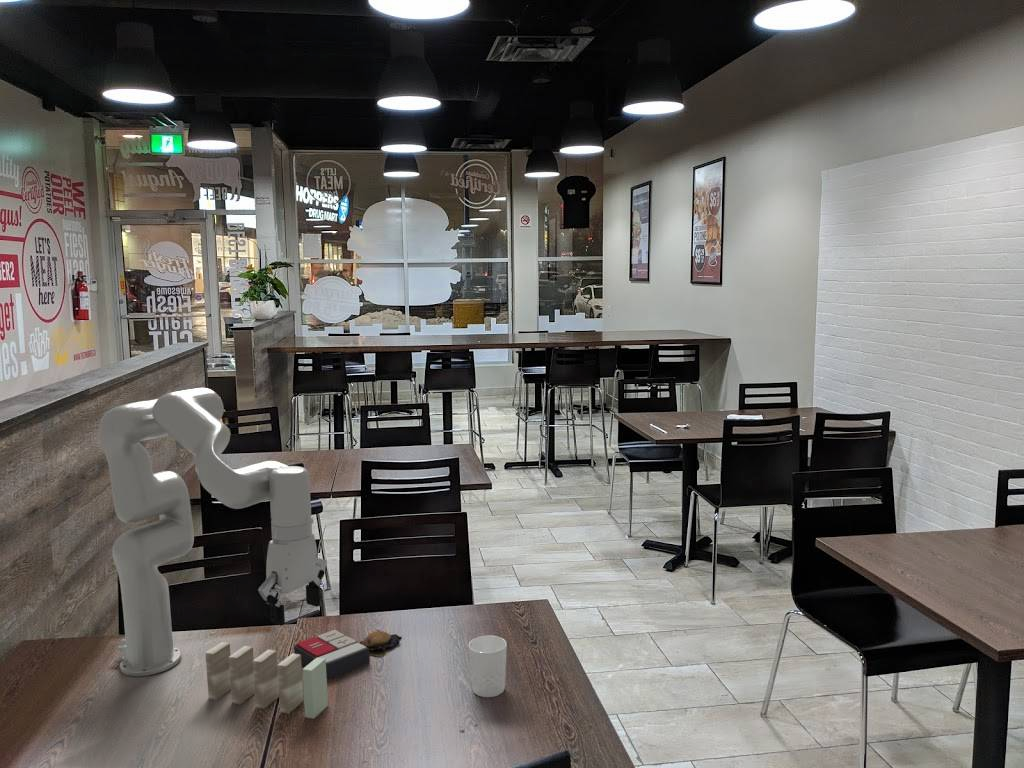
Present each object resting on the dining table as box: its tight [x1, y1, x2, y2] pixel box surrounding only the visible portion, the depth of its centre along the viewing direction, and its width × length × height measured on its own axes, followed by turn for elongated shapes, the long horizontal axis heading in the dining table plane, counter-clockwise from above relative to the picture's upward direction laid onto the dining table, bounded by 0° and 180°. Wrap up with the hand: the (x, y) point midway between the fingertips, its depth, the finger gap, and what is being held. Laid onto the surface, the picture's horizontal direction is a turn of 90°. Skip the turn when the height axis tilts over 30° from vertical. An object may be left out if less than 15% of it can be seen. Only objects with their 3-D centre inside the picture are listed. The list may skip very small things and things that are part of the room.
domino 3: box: [253, 649, 279, 710], centre depth 158 cm, size 2×5×10 cm, turn 161°
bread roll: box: [359, 629, 403, 658], centre depth 183 cm, size 11×8×4 cm
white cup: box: [468, 634, 508, 698], centre depth 161 cm, size 8×8×10 cm
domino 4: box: [277, 652, 304, 715], centre depth 156 cm, size 2×5×10 cm, turn 161°
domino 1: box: [205, 641, 232, 701], centre depth 162 cm, size 2×5×10 cm, turn 161°
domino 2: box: [229, 645, 255, 705], centre depth 160 cm, size 2×5×10 cm, turn 161°
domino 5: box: [302, 657, 329, 719], centre depth 154 cm, size 2×5×10 cm, turn 161°
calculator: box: [293, 629, 371, 680], centre depth 176 cm, size 11×4×15 cm
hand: (296, 614), depth 153 cm, fingers open, 9 cm apart
